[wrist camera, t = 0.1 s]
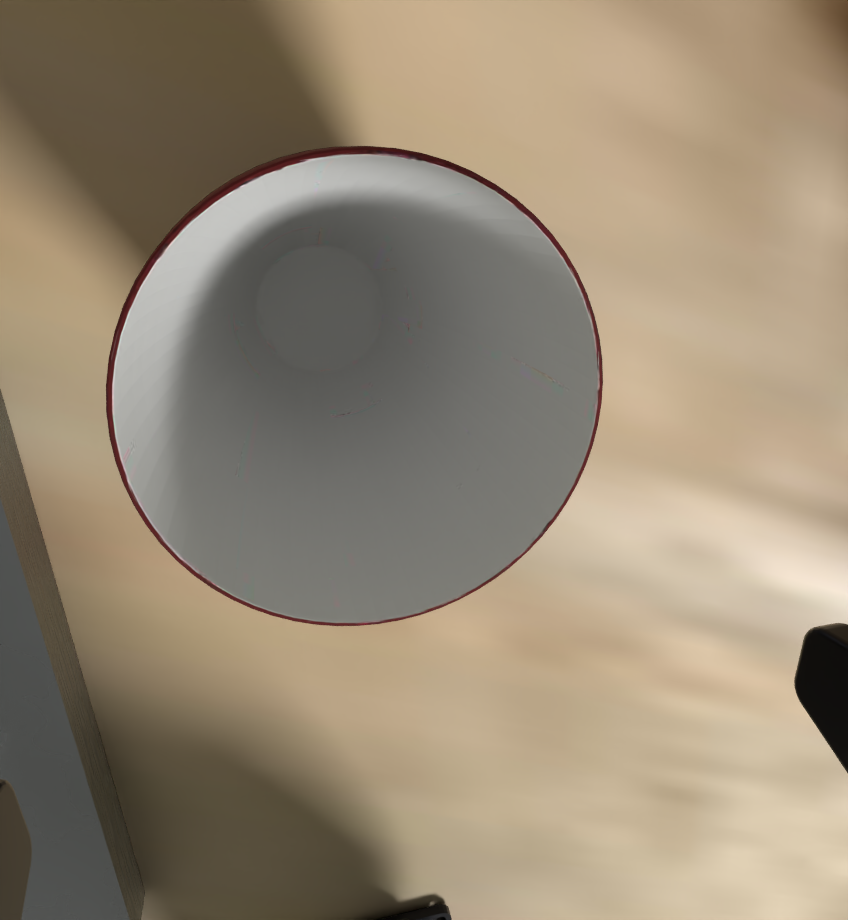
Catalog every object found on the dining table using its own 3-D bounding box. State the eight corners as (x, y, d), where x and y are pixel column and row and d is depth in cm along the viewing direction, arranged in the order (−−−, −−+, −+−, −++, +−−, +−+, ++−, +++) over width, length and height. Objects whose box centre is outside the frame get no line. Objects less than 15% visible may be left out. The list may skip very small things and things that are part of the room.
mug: (470, 480, 23) (607, 674, 14) (230, 530, 22) (215, 776, 13) (438, 141, 19) (606, 111, 10) (137, 177, 18) (18, 182, 9)
